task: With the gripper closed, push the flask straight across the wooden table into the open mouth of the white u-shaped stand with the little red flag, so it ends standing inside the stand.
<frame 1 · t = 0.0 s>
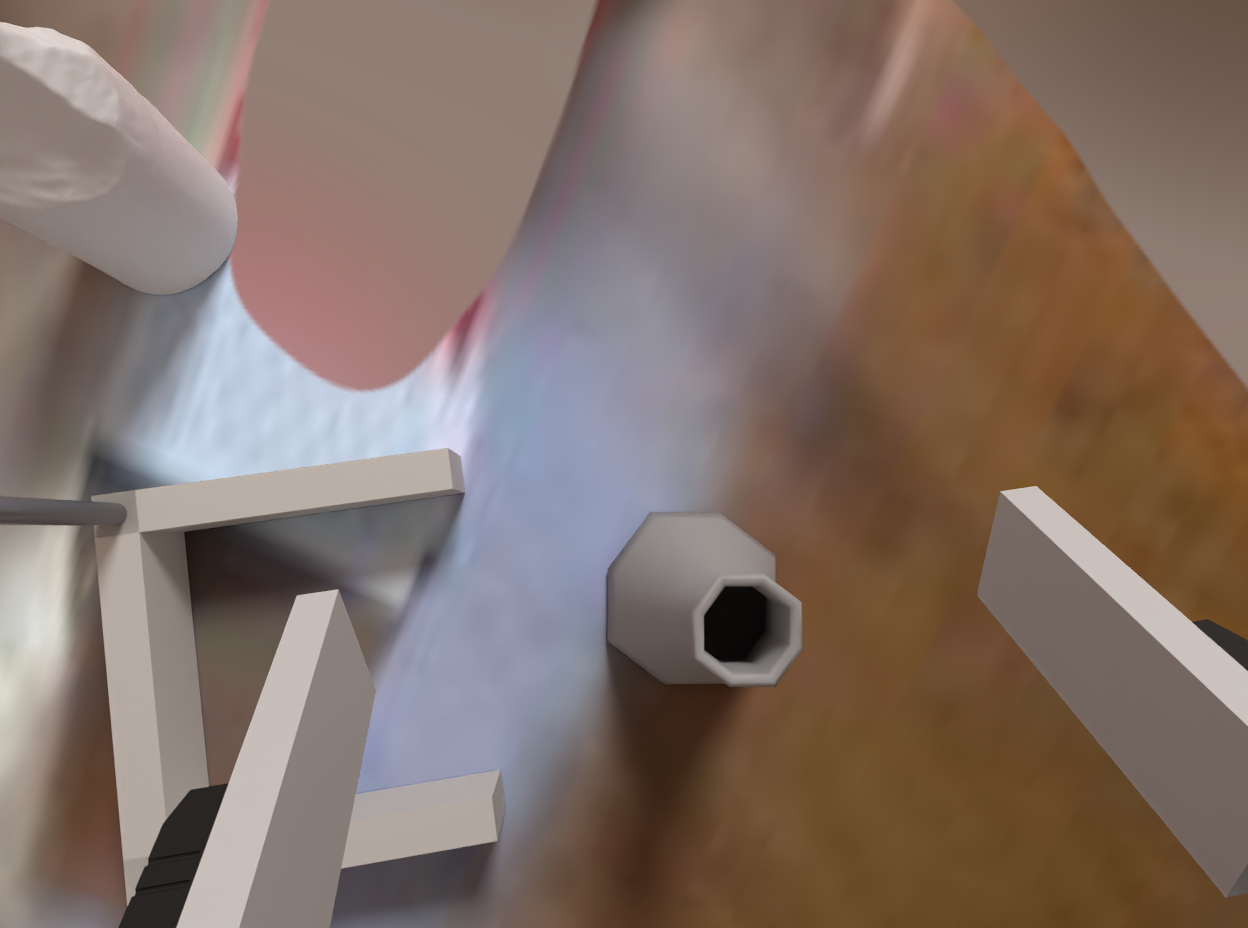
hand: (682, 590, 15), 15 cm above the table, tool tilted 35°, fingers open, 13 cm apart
white u-shaped stand: (342, 650, 29), on the table
grey piece: (170, 226, 30), on the table
flask: (690, 596, 30), on the table
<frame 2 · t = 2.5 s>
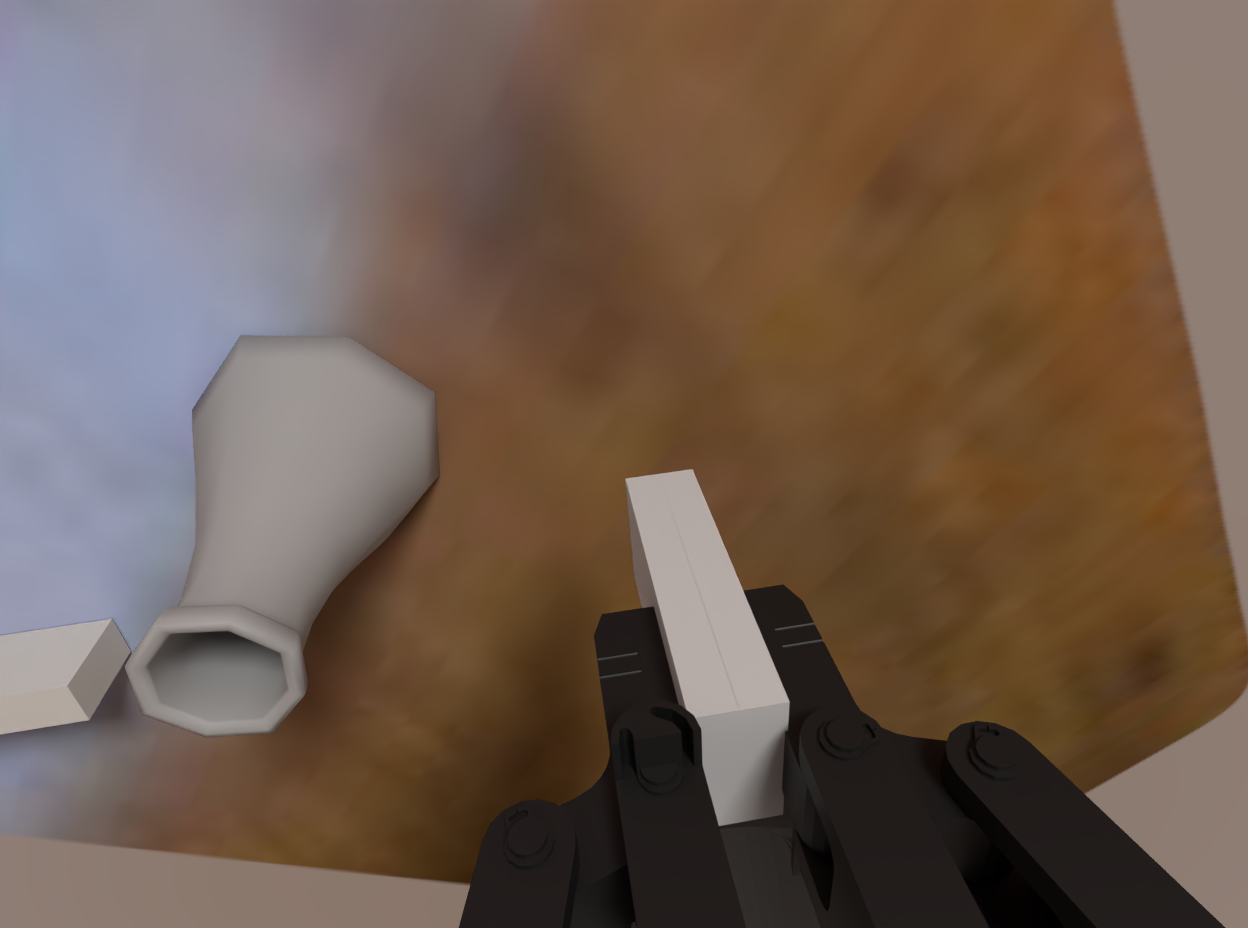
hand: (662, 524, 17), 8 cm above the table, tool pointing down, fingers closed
flask: (325, 436, 23), on the table
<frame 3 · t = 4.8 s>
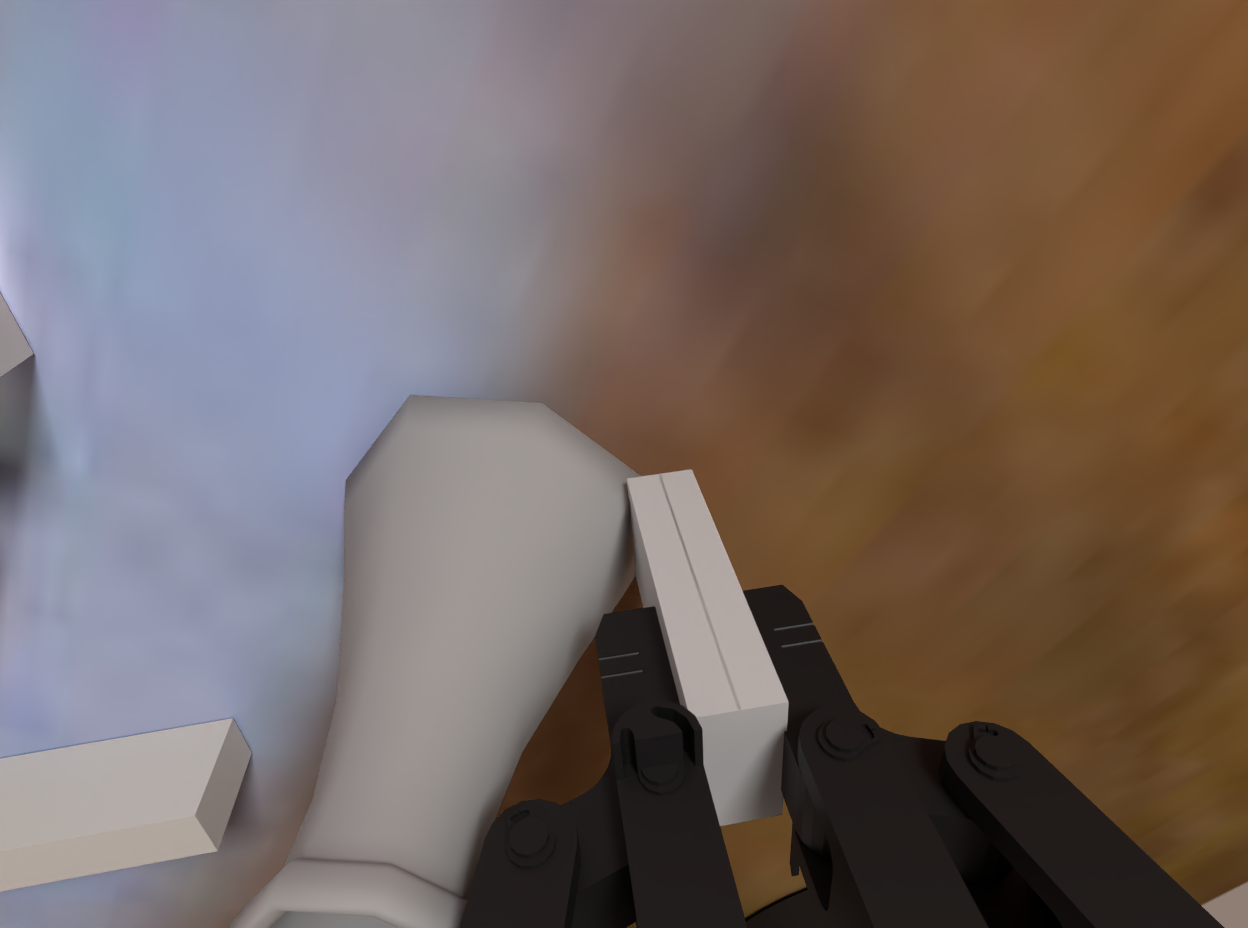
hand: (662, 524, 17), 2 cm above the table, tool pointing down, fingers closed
flask: (498, 518, 18), on the table, touching gripper, hand
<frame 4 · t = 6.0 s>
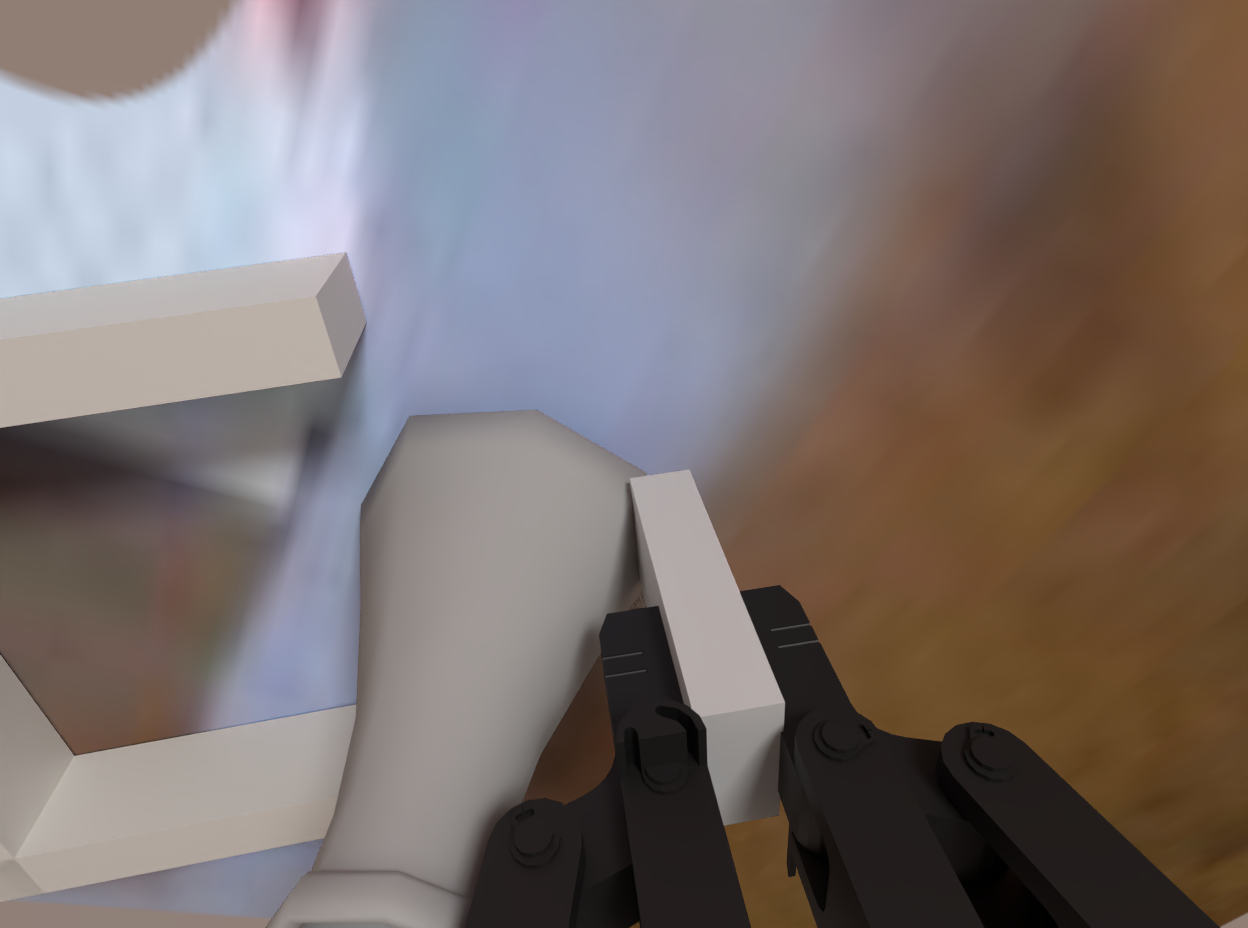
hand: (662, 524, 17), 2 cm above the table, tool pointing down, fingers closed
white u-shaped stand: (201, 567, 18), on the table
flask: (512, 527, 18), on the table, touching gripper, hand
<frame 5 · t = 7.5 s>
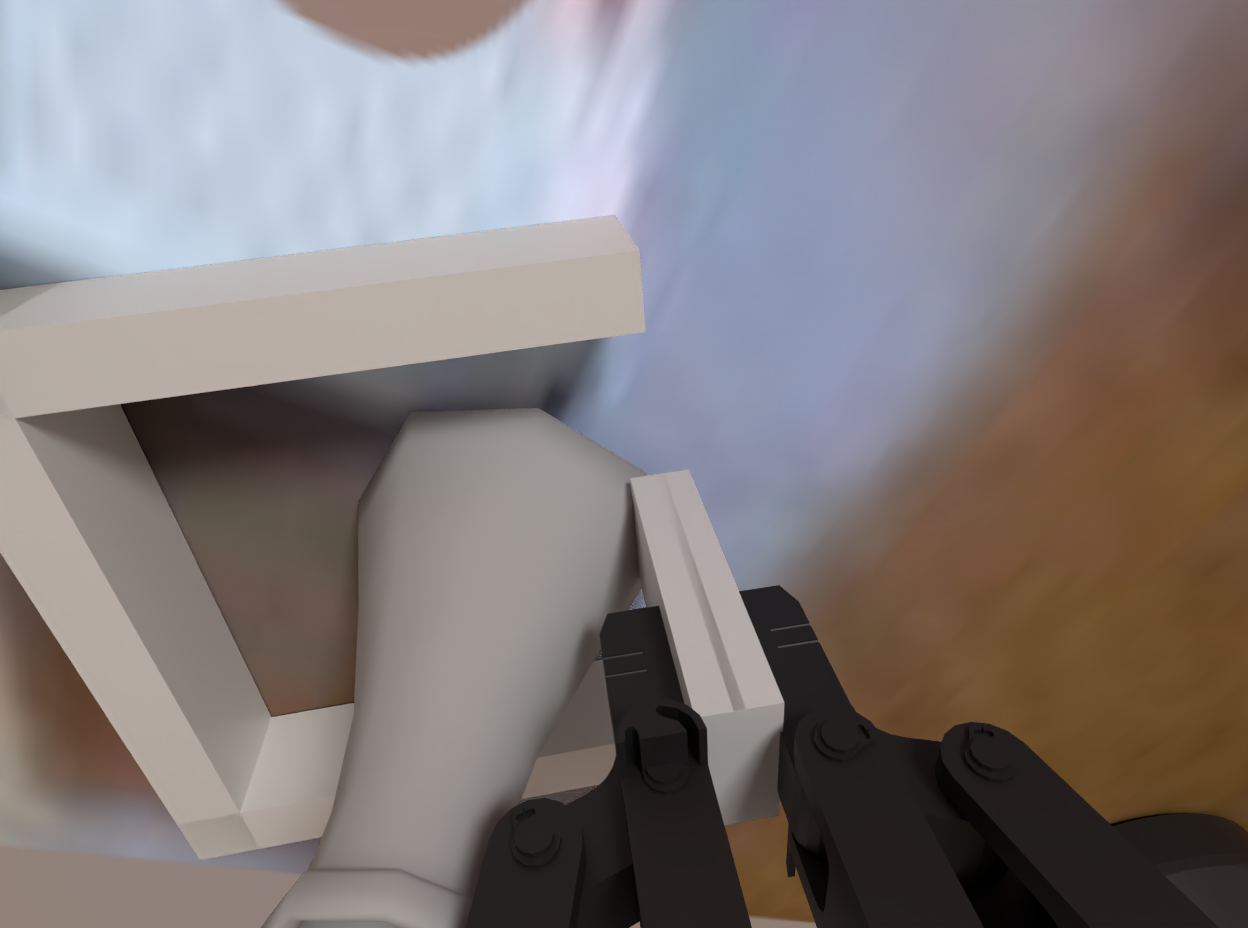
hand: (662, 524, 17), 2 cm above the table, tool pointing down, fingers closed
white u-shaped stand: (424, 528, 18), on the table
flask: (511, 525, 18), on the table, touching gripper, hand
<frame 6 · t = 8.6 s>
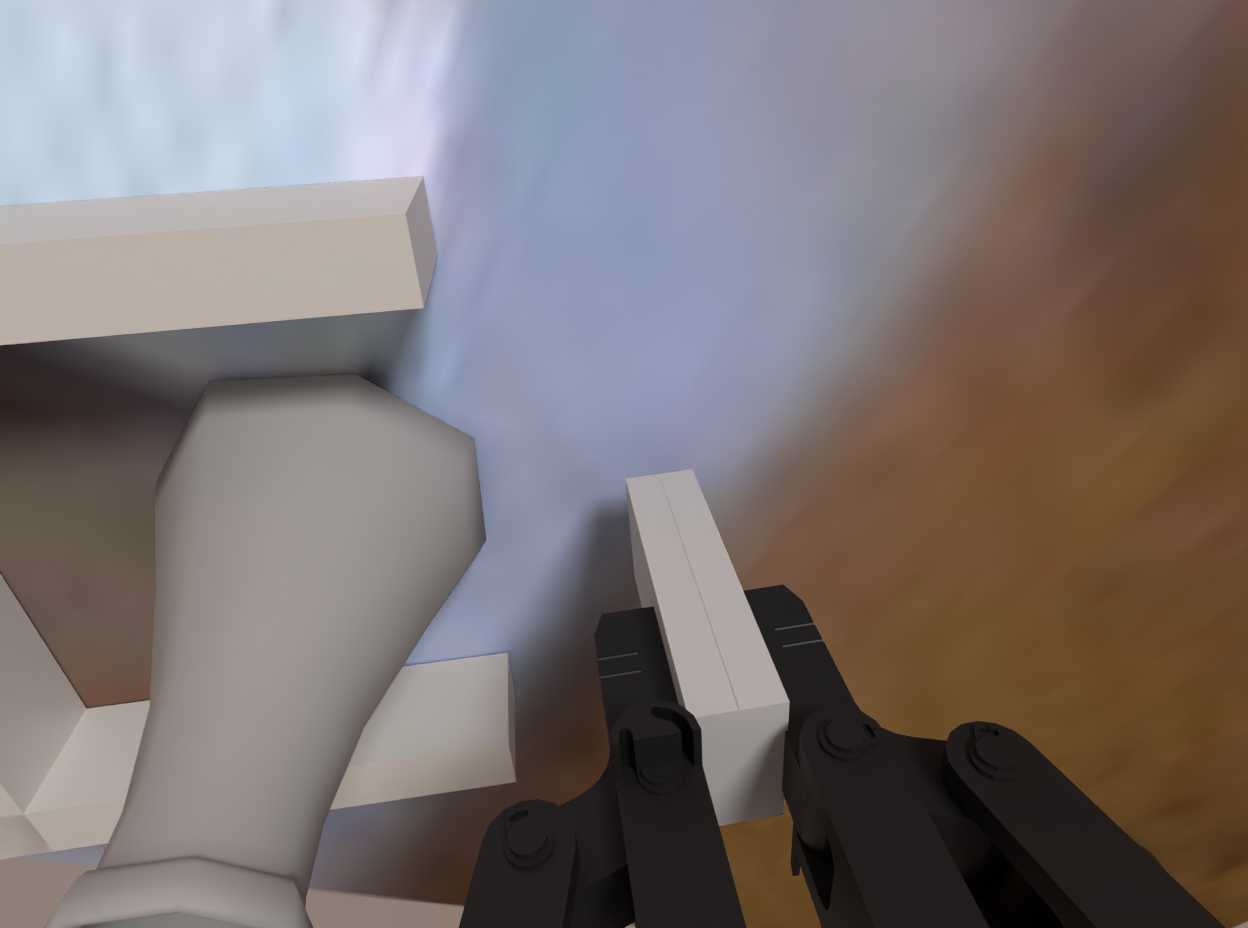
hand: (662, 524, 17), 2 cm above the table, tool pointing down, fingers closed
white u-shaped stand: (237, 514, 17), on the table
flask: (335, 500, 17), on the table
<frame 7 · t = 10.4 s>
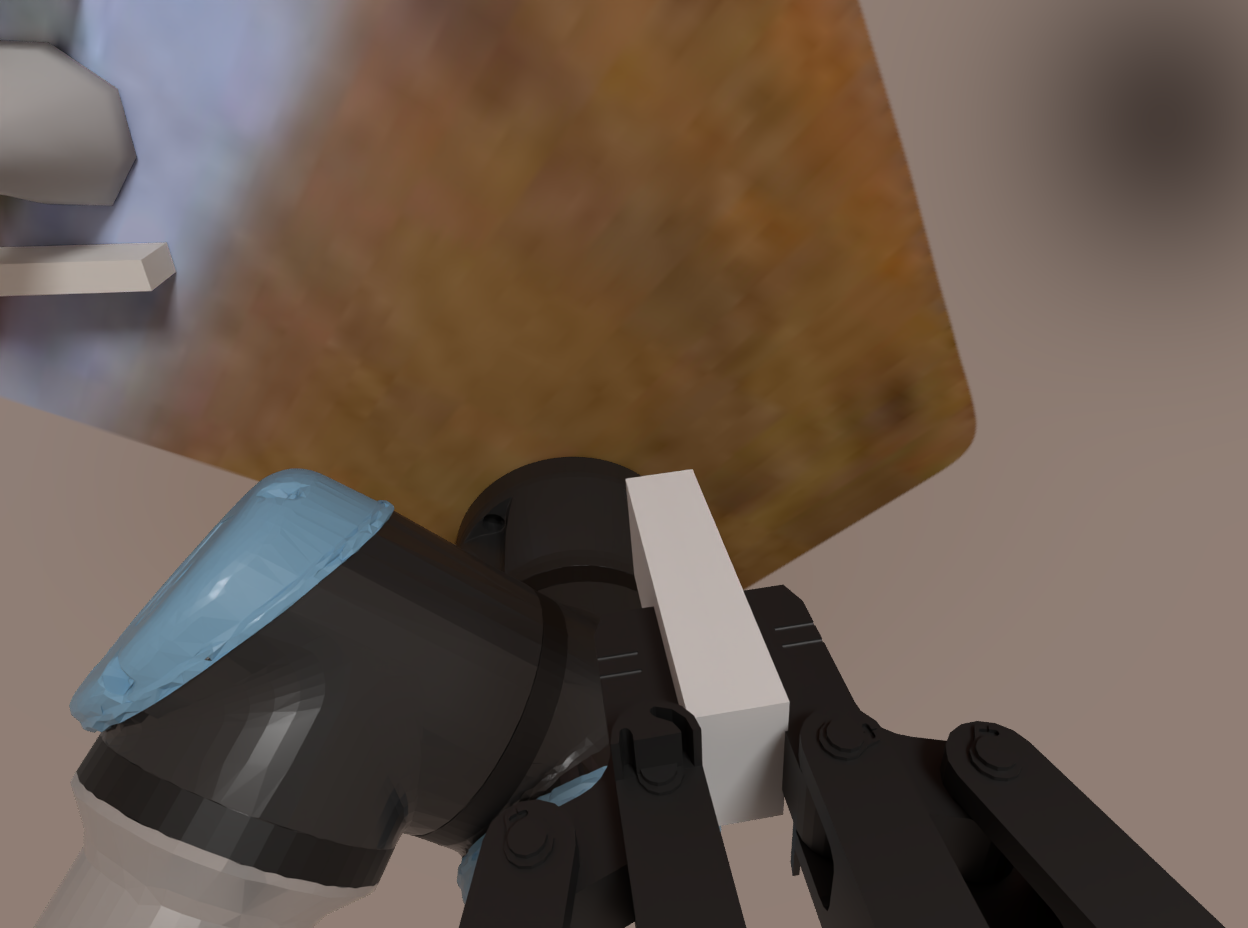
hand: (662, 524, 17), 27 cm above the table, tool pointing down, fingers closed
white u-shaped stand: (0, 124, 34), on the table
flask: (53, 125, 34), on the table
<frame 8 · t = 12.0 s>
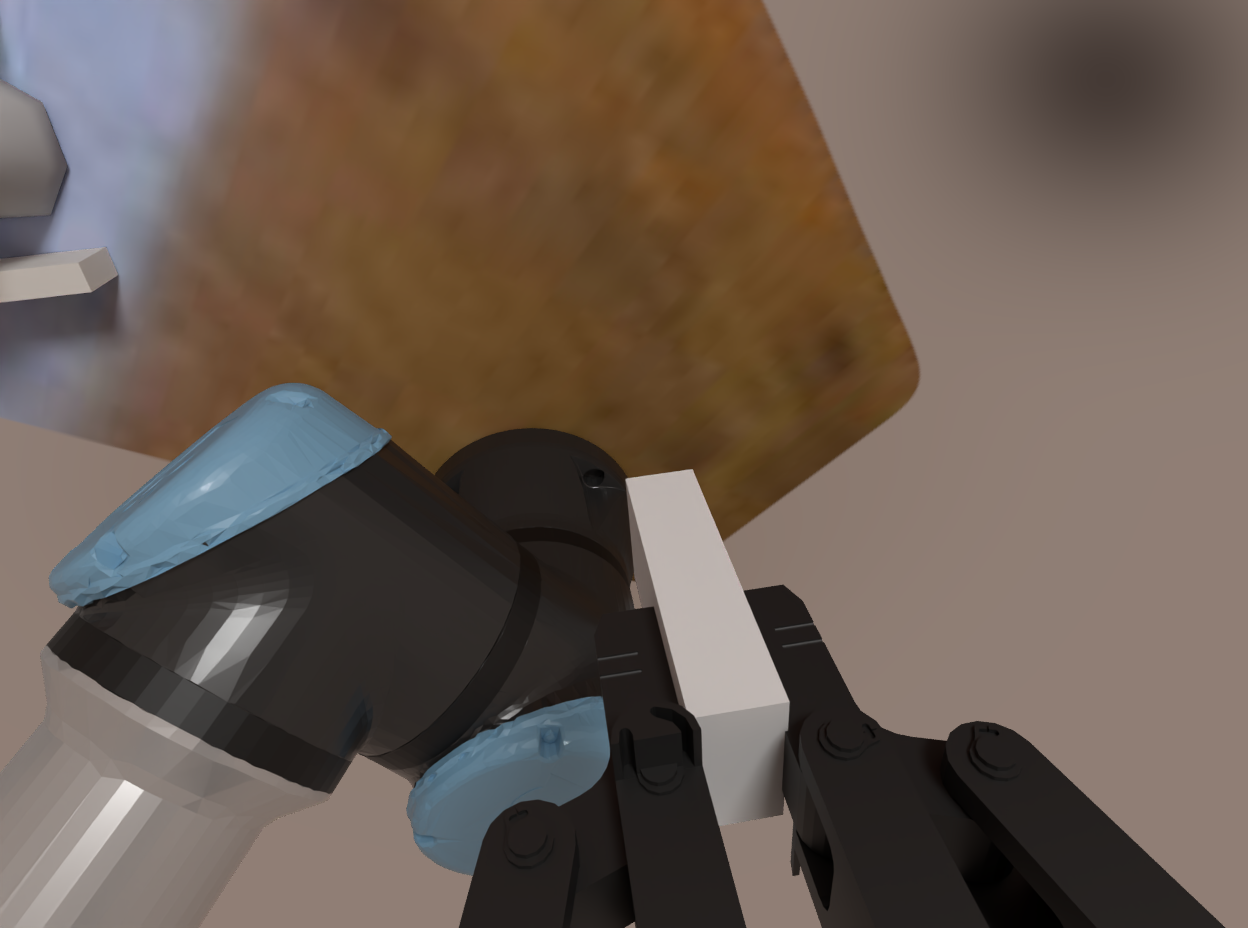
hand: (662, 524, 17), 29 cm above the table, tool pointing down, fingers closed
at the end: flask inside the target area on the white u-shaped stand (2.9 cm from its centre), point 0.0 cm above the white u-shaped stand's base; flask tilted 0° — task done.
